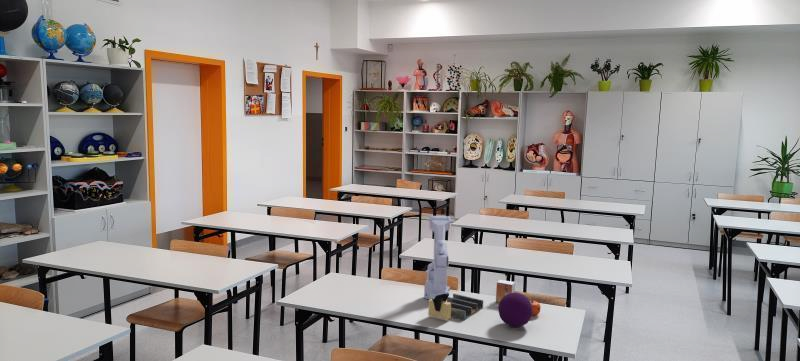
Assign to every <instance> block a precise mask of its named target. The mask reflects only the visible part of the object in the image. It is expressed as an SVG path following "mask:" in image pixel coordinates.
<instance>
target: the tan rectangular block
mask: <svg viewBox="0 0 800 361" xmlns="http://www.w3.org/2000/svg"><path fill="white" fill-rule="evenodd" d="M427 315H428V316H432V317H435V318H439V319H442V320H443V319H444V320H447V321H448V320H449V319H451V318H452V317H451V303H450V302H445V301H442V303H441V309H440V311H435V307H434V303H433V300H432V299H428V312H427Z"/></svg>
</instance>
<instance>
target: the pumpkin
mask: <svg viewBox="0 0 800 361" xmlns="http://www.w3.org/2000/svg"><path fill="white" fill-rule="evenodd" d="M530 302H531V305H532V308H533V313H532V316H533V317H535V316H538V315H539V314H540V313H541V308H542V307H541V303H539V302H537V301H536V300H533V299H532V300H530Z"/></svg>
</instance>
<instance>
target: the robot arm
mask: <svg viewBox="0 0 800 361" xmlns="http://www.w3.org/2000/svg"><path fill="white" fill-rule="evenodd" d="M428 219H429V222H428V223H429V224H428V225H429V226H428V227H429V230H430V231H433V235H434V236H433V261H432V262H431V263H429V264H428V265H427V270H426V271H427V275H426V276H427V277H426V280H425V283H424V288H423V289H424V293H423V297H422V298H423V299H427V300H430V299H432V300H433V303H434V307H435V311H440V309H441V303H442V301H445V302H446V301H447V298H448V297H450V293H449V292H450V289H451V286H449V285H448V268H449V263H450V259H449V253H448V244H447V242H446V241H445V235H446V233H445V232H448V231H449V229H450V228H451V217H450V216H449V215H447V216H446V215H430V216H429V218H428Z"/></svg>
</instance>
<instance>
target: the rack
mask: <svg viewBox="0 0 800 361" xmlns="http://www.w3.org/2000/svg"><path fill="white" fill-rule="evenodd" d="M446 302H450V303H451V318H453V319H454V318H455V319H459V320H463V321H466V320H467V319H469V318H470V317H472V316H473V315H475V314H477V313H478V312H480V311H481V310H483V309H484V299H479V298H474V297H471V296H466V295H463V294H457V293H453V294H452V296H451V297H450V296H448V298H447V300H446Z"/></svg>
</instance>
